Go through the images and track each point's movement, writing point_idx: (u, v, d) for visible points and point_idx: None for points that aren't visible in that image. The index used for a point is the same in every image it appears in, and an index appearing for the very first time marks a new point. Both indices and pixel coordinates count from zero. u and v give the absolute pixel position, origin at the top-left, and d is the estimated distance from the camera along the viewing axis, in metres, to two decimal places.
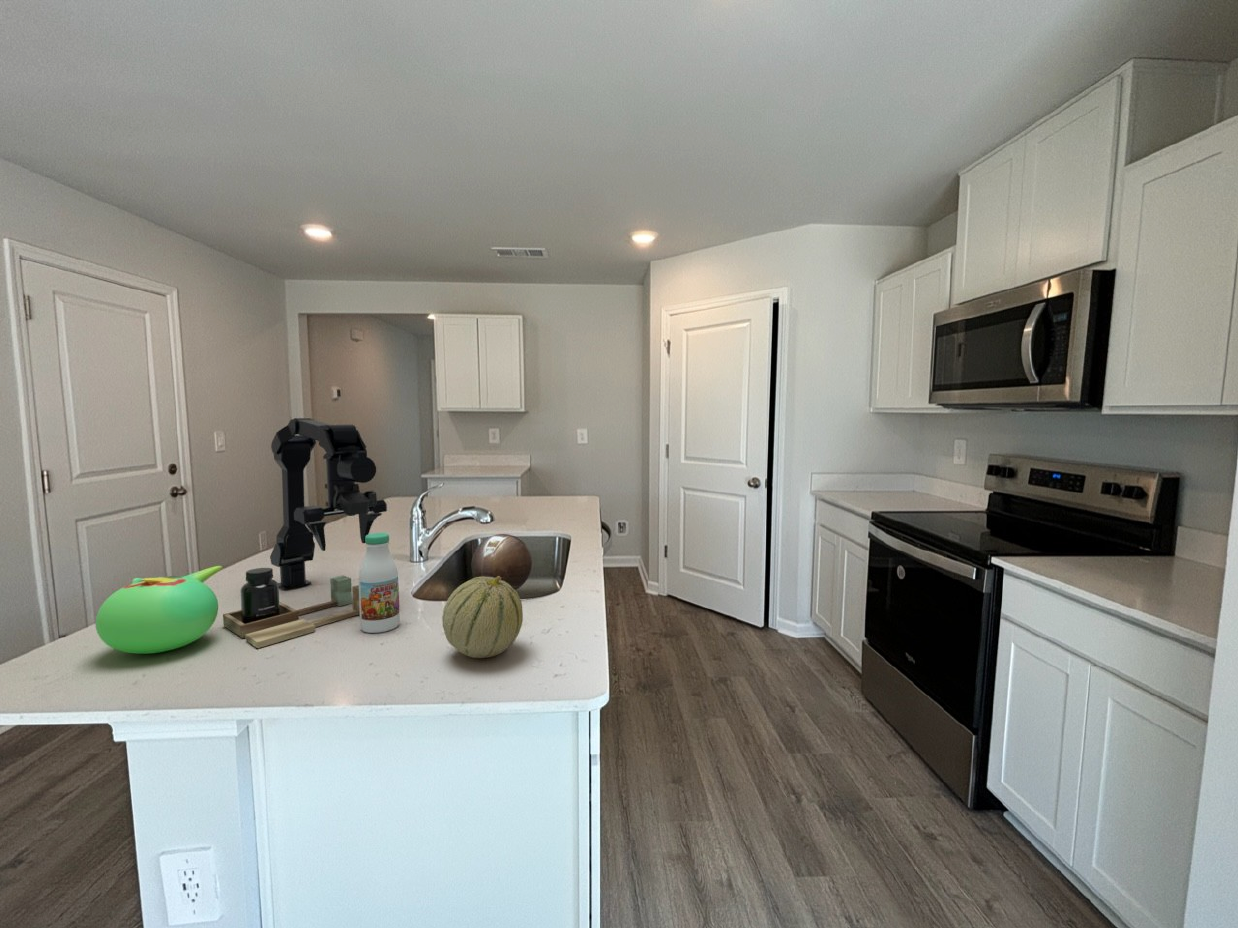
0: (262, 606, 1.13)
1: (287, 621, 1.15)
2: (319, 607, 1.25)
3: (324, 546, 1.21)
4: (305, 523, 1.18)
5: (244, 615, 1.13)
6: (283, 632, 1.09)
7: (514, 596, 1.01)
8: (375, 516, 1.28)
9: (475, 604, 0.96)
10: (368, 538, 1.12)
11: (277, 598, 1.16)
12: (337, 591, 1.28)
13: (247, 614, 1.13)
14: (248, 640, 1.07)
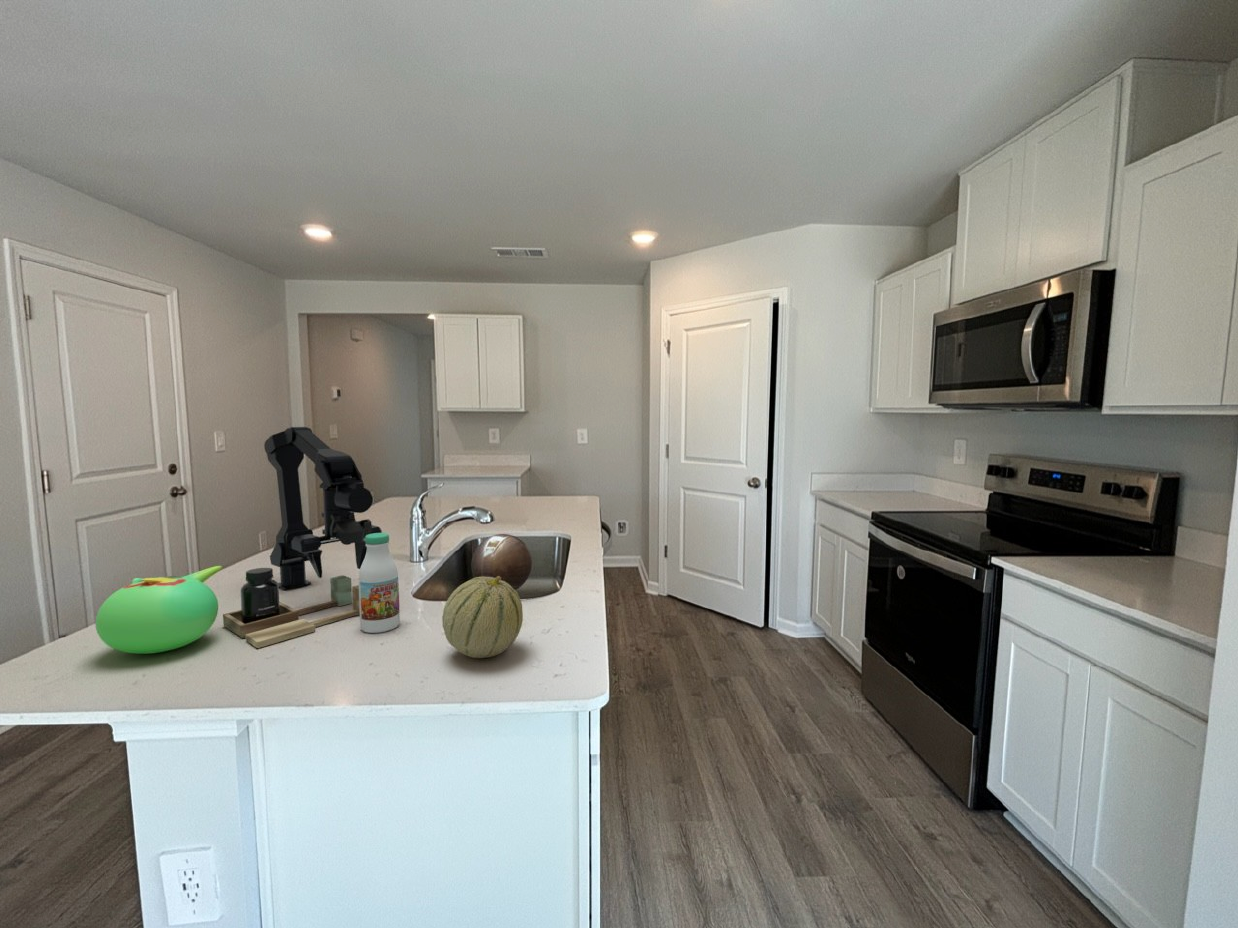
0: (262, 606, 1.13)
1: (287, 621, 1.15)
2: (319, 607, 1.25)
3: (321, 573, 1.25)
4: (302, 552, 1.22)
5: (244, 615, 1.13)
6: (283, 632, 1.09)
7: (514, 596, 1.01)
8: None
9: (475, 604, 0.96)
10: (368, 538, 1.12)
11: (277, 598, 1.16)
12: (337, 591, 1.28)
13: (247, 614, 1.13)
14: (248, 640, 1.07)
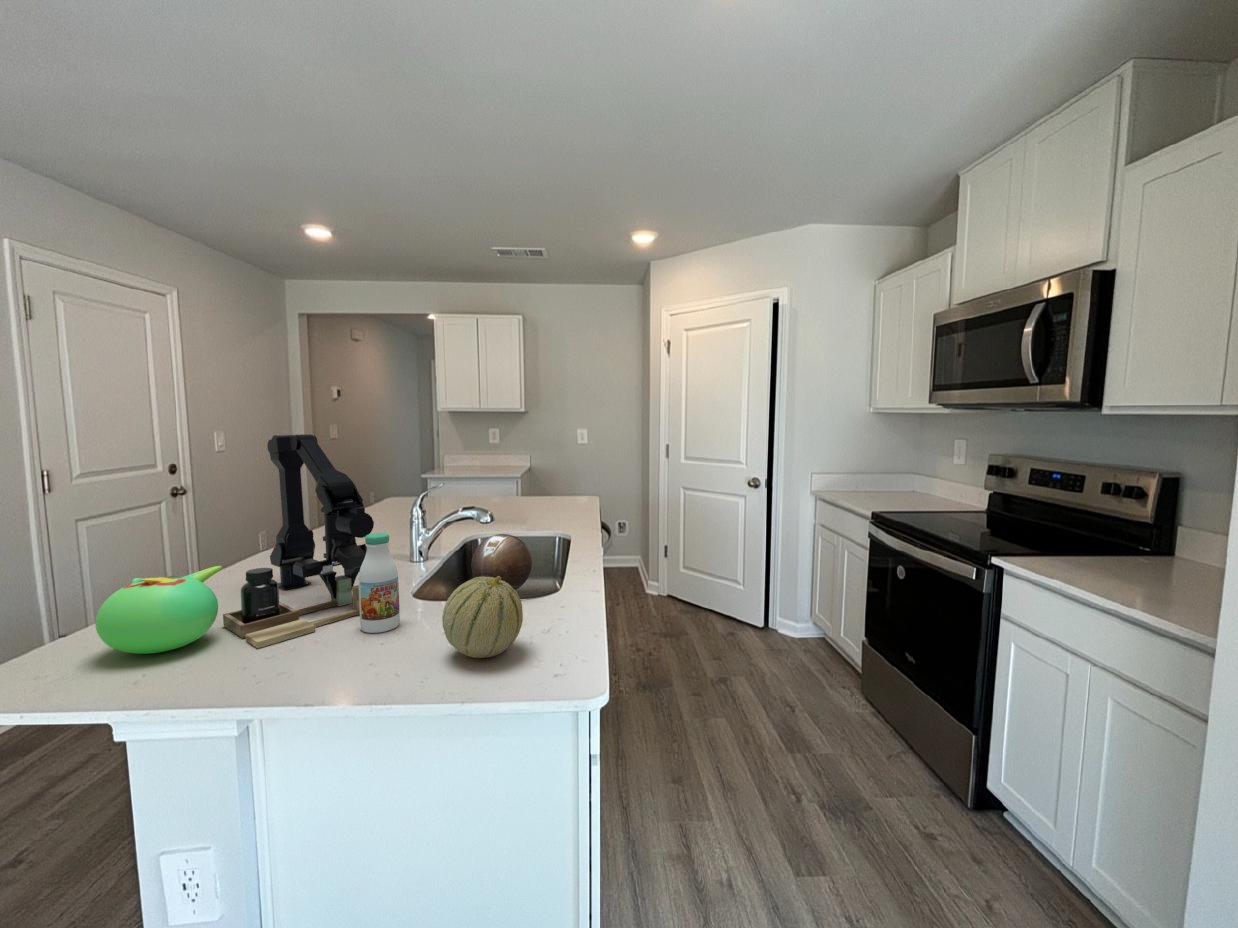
0: (262, 606, 1.13)
1: (287, 621, 1.15)
2: (319, 607, 1.25)
3: (335, 594, 1.28)
4: None
5: (244, 615, 1.13)
6: (283, 632, 1.09)
7: (514, 596, 1.01)
8: None
9: (475, 604, 0.96)
10: (368, 538, 1.12)
11: (277, 598, 1.16)
12: (337, 591, 1.28)
13: (247, 614, 1.13)
14: (248, 640, 1.07)
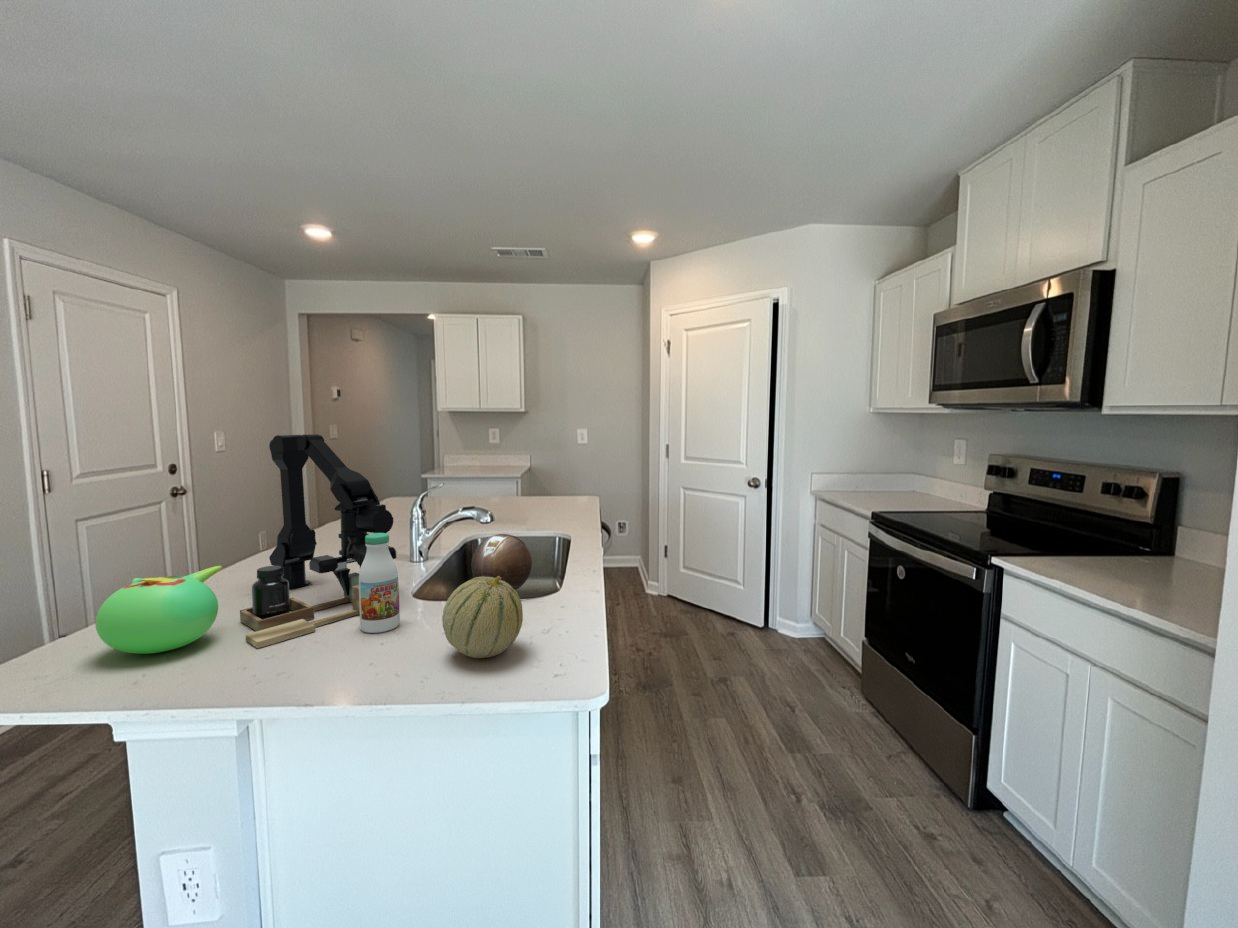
0: (272, 604, 1.15)
1: (303, 617, 1.18)
2: (333, 603, 1.27)
3: (348, 591, 1.30)
4: (331, 570, 1.28)
5: (255, 612, 1.15)
6: (283, 632, 1.09)
7: (514, 596, 1.01)
8: None
9: (475, 604, 0.96)
10: (368, 538, 1.12)
11: (287, 595, 1.18)
12: (350, 588, 1.30)
13: (258, 611, 1.14)
14: (248, 640, 1.07)
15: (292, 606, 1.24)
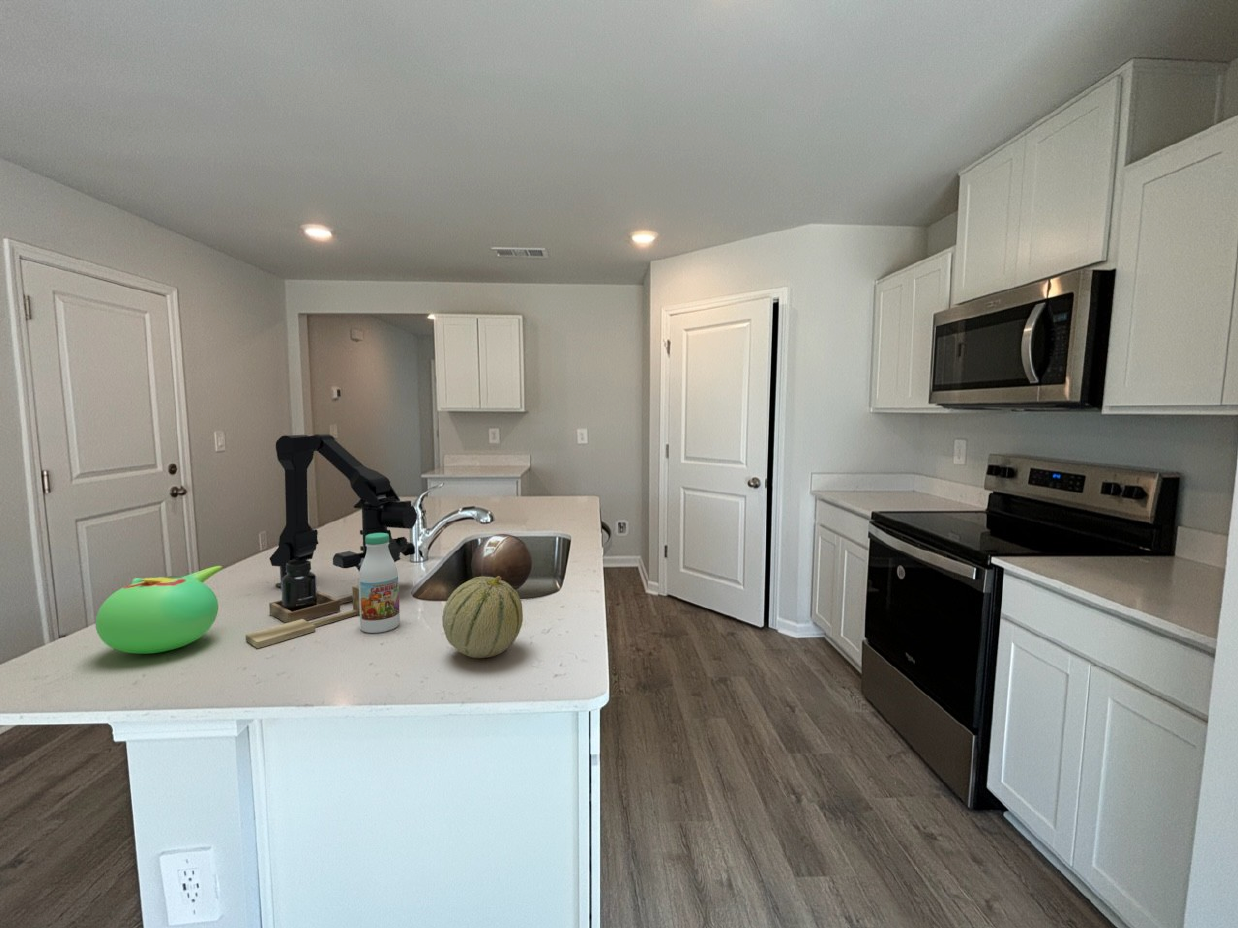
0: (301, 597, 1.19)
1: (329, 609, 1.22)
2: None
3: None
4: None
5: (285, 605, 1.19)
6: (283, 632, 1.09)
7: (514, 596, 1.01)
8: (394, 561, 1.37)
9: (475, 604, 0.96)
10: (368, 538, 1.12)
11: (315, 589, 1.22)
12: None
13: (288, 604, 1.19)
14: (248, 640, 1.07)
15: (318, 599, 1.29)
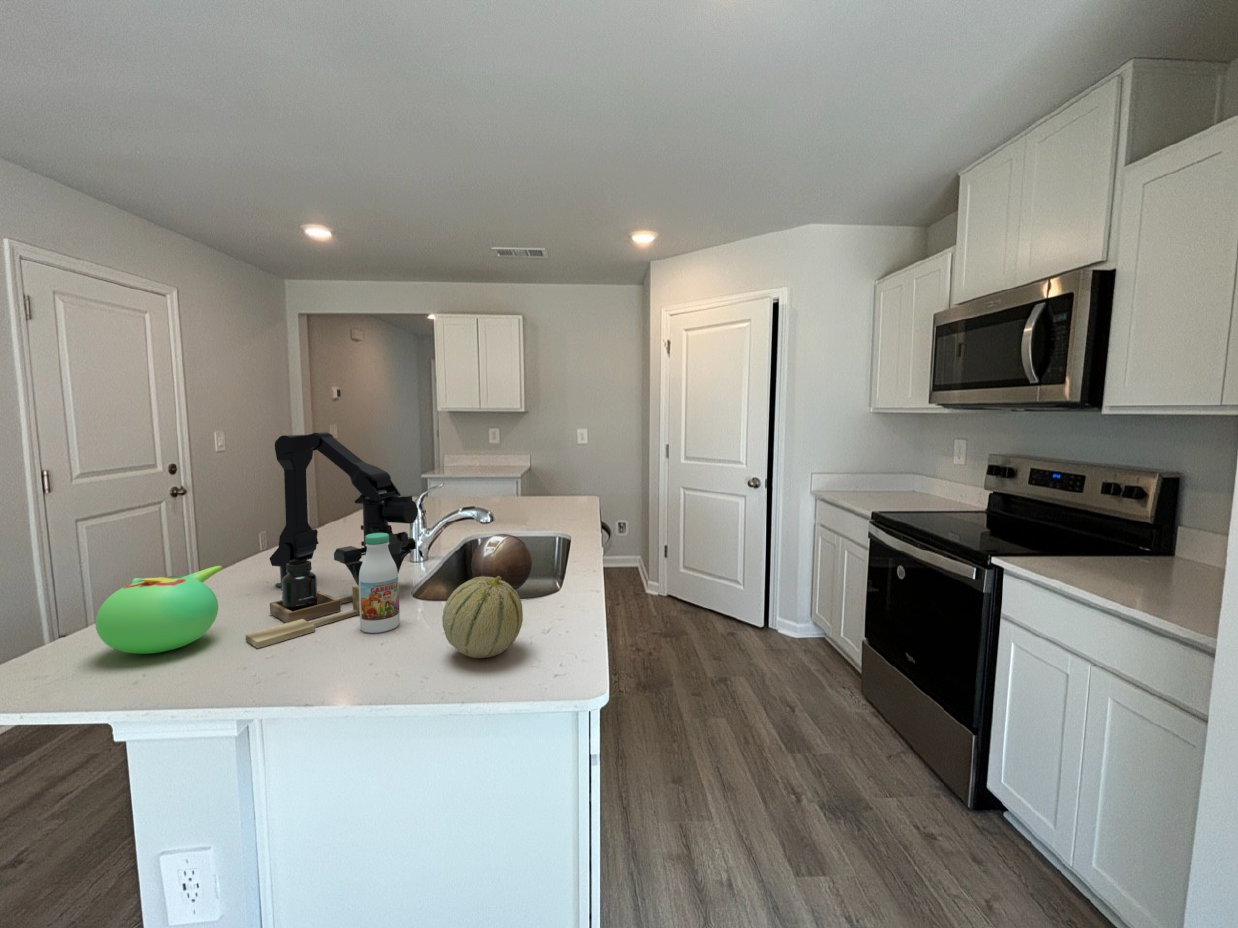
0: (301, 597, 1.19)
1: (330, 609, 1.23)
2: None
3: None
4: (344, 563, 1.30)
5: (285, 605, 1.19)
6: (283, 632, 1.09)
7: (514, 596, 1.01)
8: (406, 554, 1.40)
9: (475, 604, 0.96)
10: (368, 538, 1.12)
11: (315, 589, 1.23)
12: None
13: (288, 604, 1.19)
14: (248, 640, 1.07)
15: (318, 599, 1.29)
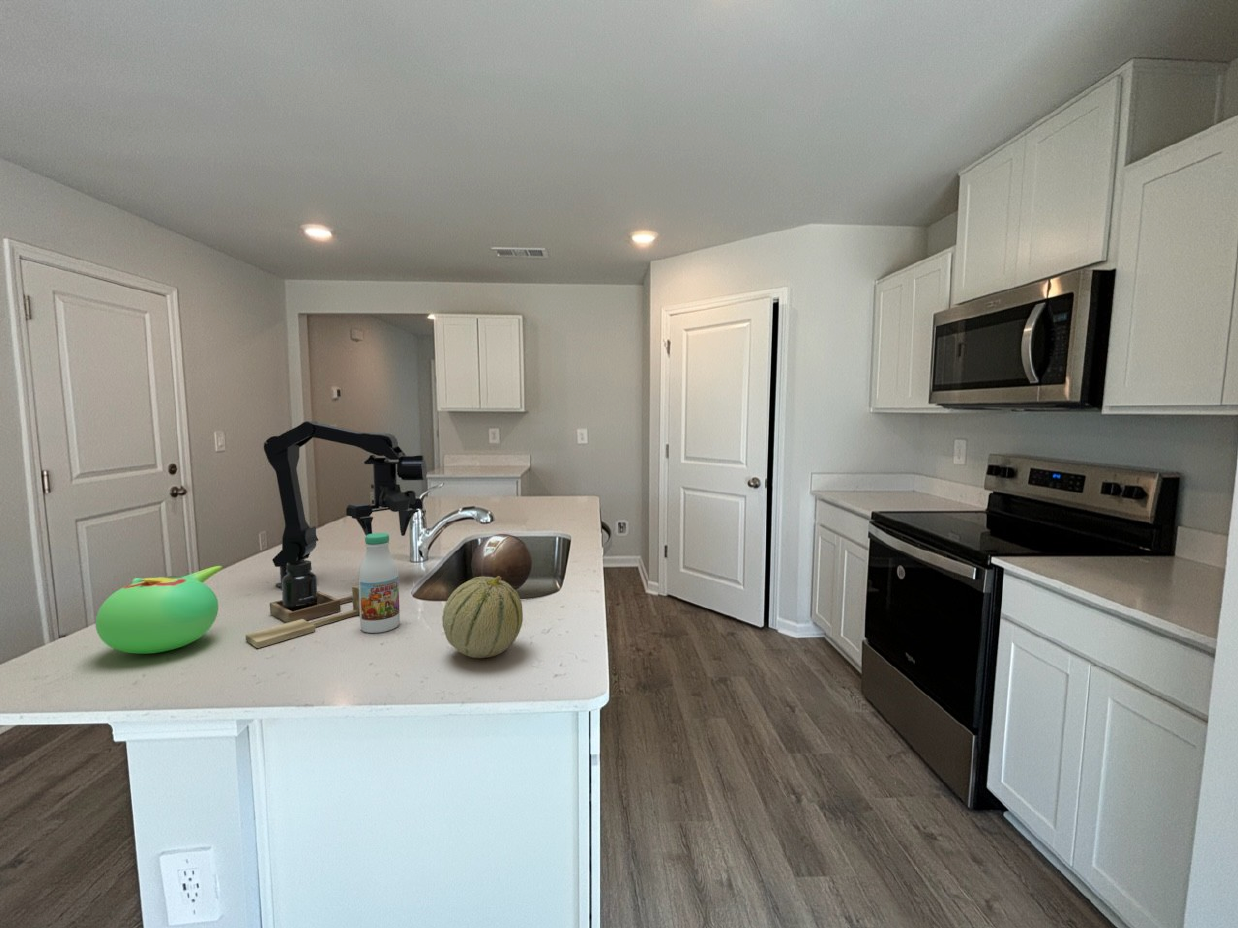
0: (301, 597, 1.19)
1: (330, 609, 1.23)
2: None
3: None
4: (356, 518, 1.39)
5: (285, 605, 1.19)
6: (283, 632, 1.09)
7: (514, 596, 1.01)
8: (413, 512, 1.48)
9: (475, 604, 0.96)
10: (368, 538, 1.12)
11: (315, 589, 1.23)
12: None
13: (288, 604, 1.19)
14: (248, 640, 1.07)
15: (318, 599, 1.29)
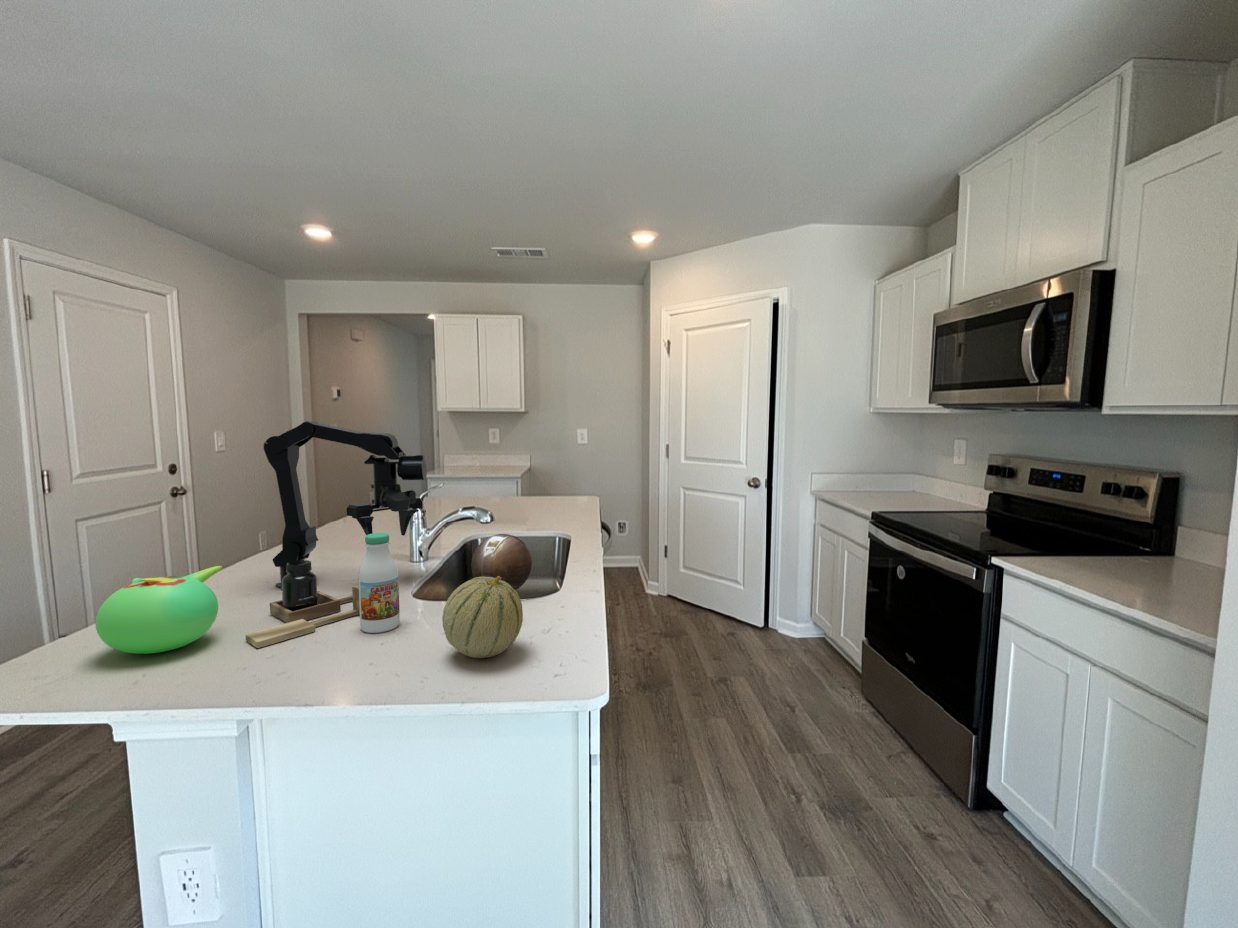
0: (301, 597, 1.19)
1: (330, 609, 1.23)
2: None
3: None
4: (356, 518, 1.39)
5: (285, 605, 1.19)
6: (283, 632, 1.09)
7: (514, 596, 1.01)
8: (413, 512, 1.49)
9: (475, 604, 0.96)
10: (368, 538, 1.12)
11: (315, 589, 1.23)
12: None
13: (288, 604, 1.19)
14: (248, 640, 1.07)
15: (318, 599, 1.29)
